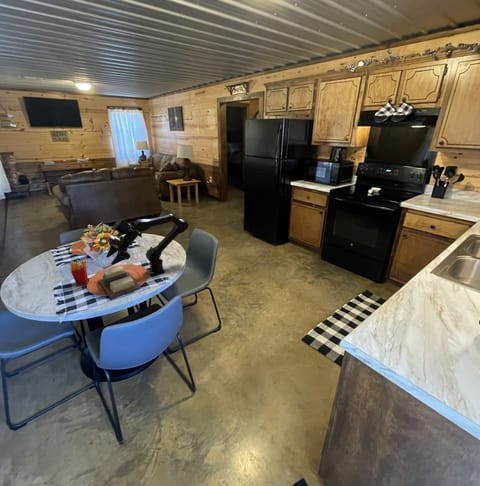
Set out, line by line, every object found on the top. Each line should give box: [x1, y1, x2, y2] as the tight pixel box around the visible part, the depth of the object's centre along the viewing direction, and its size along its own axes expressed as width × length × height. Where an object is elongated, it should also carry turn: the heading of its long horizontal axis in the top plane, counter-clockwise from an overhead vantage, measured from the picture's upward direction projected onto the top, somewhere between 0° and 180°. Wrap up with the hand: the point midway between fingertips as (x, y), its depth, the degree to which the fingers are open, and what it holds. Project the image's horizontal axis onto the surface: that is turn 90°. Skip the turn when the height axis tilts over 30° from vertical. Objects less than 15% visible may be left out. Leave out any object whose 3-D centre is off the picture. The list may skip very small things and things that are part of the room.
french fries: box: [69, 259, 89, 287], centre depth 146 cm, size 9×8×15 cm
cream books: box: [110, 276, 134, 293], centre depth 143 cm, size 11×6×4 cm, turn 131°
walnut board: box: [98, 270, 142, 300], centre depth 148 cm, size 16×22×1 cm
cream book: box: [103, 265, 126, 279], centre depth 150 cm, size 10×6×2 cm, turn 131°
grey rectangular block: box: [102, 270, 128, 284], centre depth 151 cm, size 12×5×4 cm, turn 131°
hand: (109, 260), depth 143 cm, fingers open, 9 cm apart
